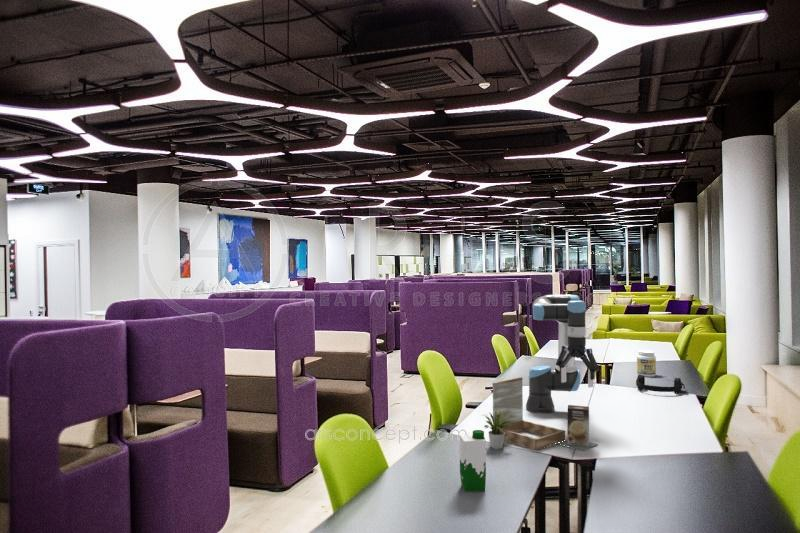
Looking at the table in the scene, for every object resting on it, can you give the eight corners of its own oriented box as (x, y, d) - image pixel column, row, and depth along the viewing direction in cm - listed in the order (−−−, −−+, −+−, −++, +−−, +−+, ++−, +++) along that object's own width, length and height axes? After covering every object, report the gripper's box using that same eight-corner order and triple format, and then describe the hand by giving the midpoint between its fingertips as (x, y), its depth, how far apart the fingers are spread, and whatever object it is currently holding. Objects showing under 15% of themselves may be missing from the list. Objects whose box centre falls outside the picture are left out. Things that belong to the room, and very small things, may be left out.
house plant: (491, 454, 242) (491, 415, 242) (472, 445, 254) (472, 408, 254) (518, 449, 248) (518, 411, 248) (498, 440, 260) (498, 404, 260)
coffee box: (566, 444, 252) (566, 408, 252) (567, 440, 258) (567, 404, 258) (589, 446, 249) (588, 409, 249) (589, 442, 255) (589, 406, 255)
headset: (674, 386, 371) (674, 373, 371) (693, 396, 345) (693, 381, 345) (630, 386, 372) (629, 373, 372) (645, 396, 346) (645, 381, 346)
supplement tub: (639, 376, 402) (639, 352, 402) (635, 373, 414) (635, 349, 414) (658, 377, 400) (657, 352, 400) (653, 374, 412) (653, 350, 412)
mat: (557, 444, 255) (557, 443, 255) (573, 439, 262) (573, 437, 262) (581, 451, 245) (581, 449, 245) (597, 445, 253) (597, 443, 253)
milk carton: (488, 492, 202) (487, 434, 202) (462, 493, 202) (462, 435, 202) (482, 482, 211) (482, 427, 211) (458, 483, 210) (457, 428, 210)
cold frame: (493, 436, 267) (492, 382, 267) (521, 428, 279) (520, 377, 279) (537, 450, 247) (536, 391, 247) (565, 440, 260) (564, 385, 260)
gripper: (547, 334, 261) (548, 381, 261) (597, 339, 241) (597, 390, 242) (557, 332, 266) (558, 379, 266) (607, 338, 246) (607, 387, 246)
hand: (577, 384), depth 254 cm, fingers open, 13 cm apart
